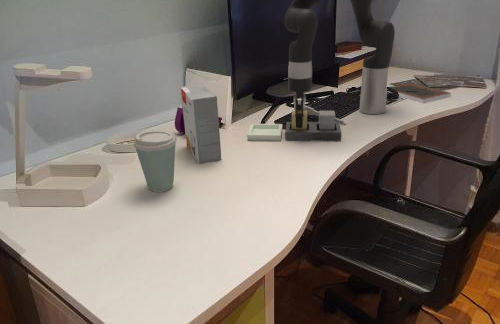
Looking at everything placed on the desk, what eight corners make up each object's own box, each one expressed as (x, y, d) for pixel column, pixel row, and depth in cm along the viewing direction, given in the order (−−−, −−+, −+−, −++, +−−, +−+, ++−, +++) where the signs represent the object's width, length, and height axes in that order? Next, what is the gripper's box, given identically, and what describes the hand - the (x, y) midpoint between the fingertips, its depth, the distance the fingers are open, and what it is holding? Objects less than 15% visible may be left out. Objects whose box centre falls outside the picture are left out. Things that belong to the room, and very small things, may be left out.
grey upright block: (333, 133, 141) (334, 110, 138) (334, 138, 137) (335, 115, 133) (318, 133, 142) (319, 110, 139) (318, 138, 137) (319, 115, 134)
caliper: (295, 116, 159) (295, 101, 156) (297, 116, 160) (297, 100, 157) (345, 125, 148) (346, 109, 145) (346, 125, 149) (347, 108, 146)
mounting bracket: (205, 137, 159) (172, 131, 144) (210, 115, 158) (177, 107, 143) (224, 142, 153) (192, 136, 138) (229, 119, 153) (197, 111, 138)
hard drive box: (186, 146, 135) (179, 86, 127) (208, 142, 138) (203, 83, 129) (197, 164, 122) (191, 98, 114) (222, 160, 124) (218, 95, 116)
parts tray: (282, 129, 146) (282, 124, 145) (280, 141, 136) (280, 135, 135) (251, 129, 148) (251, 123, 147) (247, 140, 138) (247, 135, 137)
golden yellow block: (306, 132, 142) (307, 110, 139) (306, 138, 138) (307, 115, 135) (292, 132, 143) (292, 110, 140) (291, 138, 139) (291, 115, 135)
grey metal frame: (338, 130, 143) (339, 122, 142) (340, 141, 134) (341, 132, 133) (286, 130, 146) (286, 121, 144) (285, 140, 137) (285, 132, 135)
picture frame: (383, 93, 186) (422, 104, 168) (383, 87, 184) (423, 98, 167) (409, 87, 192) (450, 98, 175) (410, 82, 191) (451, 92, 174)
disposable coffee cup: (165, 174, 117) (158, 124, 111) (190, 185, 110) (184, 132, 104) (133, 188, 110) (123, 135, 103) (158, 201, 103) (150, 145, 97)
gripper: (312, 80, 125) (310, 130, 132) (311, 70, 138) (310, 116, 145) (287, 80, 126) (287, 130, 133) (289, 70, 139) (288, 116, 146)
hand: (299, 123), depth 139 cm, fingers open, 8 cm apart
